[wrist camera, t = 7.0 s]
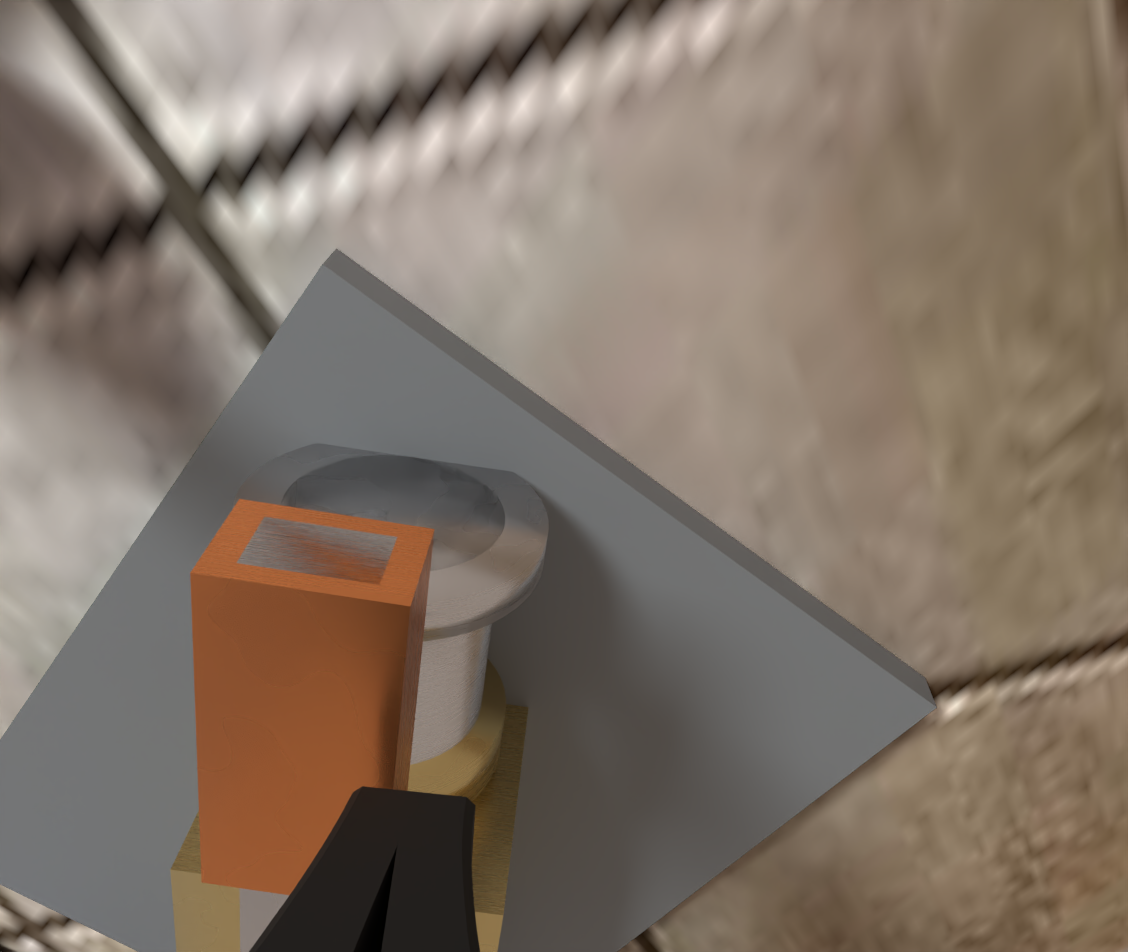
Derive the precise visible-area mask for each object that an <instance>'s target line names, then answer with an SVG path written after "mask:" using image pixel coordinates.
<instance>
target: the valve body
mask: <svg viewBox="0 0 1128 952" xmlns="http://www.w3.org/2000/svg"><path fill="white" fill-rule="evenodd" d="M239 499H244V500H251V501H257V502H263V503H270V504H276V505H283V506H289V507H296V508H302V509H309V510H315V511H322V512H328V513H334V514H341V515H347V516H354V517H360V518H367V519H373V520H380V521H386V522H393V523H399V524H405V525H412V526H418V527H425V528H431V529H435V530H434V539H433V549H432V559H431V568H430V578H429V588H428V597H427V607H426V617H425V626H424V636H423V646H422V655H421V665H420V675H419V684H418V694H417V704H416V713H415V723H414V733H413V742H412V752H411V762H410V771H409V781H408V791H414V792H423V793H433V794H443V795H453V796H462V797H467V798H468V799H469V800H470V801H471V802H473V803H474V804H475V805H476V807H475V823H474V838H473V854H472V880H473V895H474V908H475V917H476V926H477V934H478V941H479V947H480V952H497V951H498V945H499V939H500V933H501V927H502V921H503V914H504V906H505V898H506V889H507V881H508V873H509V865H510V856H511V848H512V840H513V832H514V823H515V815H516V807H517V799H518V790H519V782H520V774H521V766H522V757H523V749H524V741H525V733H526V724H527V716H528V708H529V707H523V706H516V705H509V704H506V696H505V689H504V686H503V683H502V680H501V678H500V676H499V674H498V672H497V670H496V669H495V667H494V666H493V664H492V663H491V662H490V660H489V659H488V650H489V643H490V635H491V627H492V623H494V622H496V621H498V620H500V619H502V618H504V617H505V616H507V615H508V614H510V613H511V612H513V611H514V610H516V609H517V608H518V607H519V606H520V605H521V604H522V603H524V602H525V601H526V600H527V599H528V597H529V596H530V595H531V593H532V592H533V591H534V590H535V588H536V586H537V584H538V582H539V580H540V577H541V573H542V569H543V563H544V557H545V551H546V544H547V538H548V531H549V520H548V516H547V512H546V509H545V507H544V505H543V503H542V501H541V499H540V498H539V496H538V495H537V494H536V492H535V491H534V490H533V489H532V488H531V487H530V486H529V485H528V484H527V483H526V482H525V481H524V480H523V479H522V478H520V477H519V476H518V475H517V474H515V473H514V472H511V471H504V470H497V469H490V468H483V467H477V466H470V465H463V464H456V463H449V462H443V461H436V460H429V459H422V458H415V457H409V456H402V455H395V454H388V453H381V452H375V451H368V450H361V449H354V448H347V447H341V446H334V445H327V444H320V443H315V444H311V445H308V446H304V447H301V448H298V449H295V450H293V451H290V452H287V453H285V454H283V455H281V456H279V457H277V458H275V459H273V460H271V461H269V462H268V463H266V464H264V465H263V466H261V467H260V468H258V469H257V470H256V471H255V472H254V473H253V474H251V475H250V476H249V477H248V478H247V480H246V481H245V482H244V483H243V484H242V486H241V487H240V489H239V491H238V493H237V495H236V497H235V500H234V504H233V508H234V506H235V505H236V503H237V502H238V500H239ZM170 873H171V886H172V899H173V913H174V926H175V940H176V952H240V889H239V888H236V887H229V886H222V885H215V884H208V883H202V882H201V855H200V827H199V811H198V813H197V815H196V817H195V819H194V821H193V823H192V826H191V828H190V830H189V832H188V834H187V836H186V838H185V840H184V842H183V844H182V846H181V848H180V851H179V853H178V855H177V857H176V859H175V861H174V863H173V865H172V867H171V869H170Z"/></svg>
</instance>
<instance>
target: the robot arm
mask: <svg viewBox="0 0 1128 952" xmlns="http://www.w3.org/2000/svg"><path fill="white" fill-rule="evenodd" d="M475 807H476V805H475V804H474V803H473V802H471V801H470V800H469V799H468V798H467V797H462V796H453V795H443V794H433V793H423V792H414V791H404V790H394V789H384V788H375V787H365V786H362V787H360V788H359V789H357V790H356V791H354V792H353V793H352V795H351V797H350V798H349V800H348V802H347V804H346V806H345V808H344V810H343V812H342V813H341V815H340V817H339V819H338V820H337V822H336V824H335V825H334V827H333V829H332V831H331V832H330V834H329V836H328V837H327V839H326V841H325V842H324V844H323V845H322V847H321V849H320V850H319V852H318V853H317V855H316V856H315V858H314V859H313V861H312V863H311V864H310V866H309V867H308V869H307V870H306V872H305V873H304V875H303V876H302V878H301V879H300V881H299V882H298V884H297V885H296V887H295V888H294V890H293V891H292V892H291V894H290V895H289V897H288V898H287V899H286V901H285V902H284V904H283V905H282V906H281V908H280V909H279V911H278V912H277V913H276V915H275V916H274V918H273V919H272V920H271V922H270V923H269V925H268V926H267V927H266V929H265V930H264V932H263V933H262V934H261V936H260V937H259V939H258V940H257V941H256V943H255V944H254V945H253V947H252V948H251V949H250V951H249V952H480V947H479V941H478V934H477V926H476V917H475V908H474V895H473V880H472V854H473V838H474V823H475ZM0 952H1V951H0Z"/></svg>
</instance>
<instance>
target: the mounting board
mask: <svg viewBox="0 0 1128 952" xmlns="http://www.w3.org/2000/svg"><path fill="white" fill-rule="evenodd" d="M315 443H320V444H327V445H334V446H341V447H347V448H354V449H361V450H368V451H375V452H381V453H388V454H395V455H402V456H409V457H415V458H422V459H429V460H436V461H443V462H449V463H456V464H463V465H470V466H477V467H483V468H490V469H497V470H504V471H511V472H514V473H515V474H517V475H518V476H519V477H520V478H522V479H523V480H524V481H525V482H526V483H527V484H528V485H529V486H530V487H531V488H532V489H533V490H534V491H535V492H536V494H537V495H538V496H539V498H540V499H541V501H542V503H543V505H544V507H545V509H546V512H547V516H548V520H549V531H548V538H547V544H546V551H545V557H544V563H543V569H542V573H541V577H540V580H539V582H538V584H537V586H536V588H535V590H534V591H533V592H532V593H531V595H530V596H529V597H528V599H527V600H526V601H525V602H524V603H522V604H521V605H520V606H519V607H518V608H517V609H516V610H514V611H513V612H511V613H510V614H508V615H507V616H505V617H504V618H502V619H500V620H498V621H496V622H494V623H492V627H491V635H490V643H489V650H488V659H489V660H490V662H491V663H492V664H493V666H494V667H495V669H496V670H497V672H498V674H499V676H500V678H501V680H502V683H503V686H504V689H505V696H506V704H509V705H516V706H523V707H529V708H528V716H527V724H526V733H525V741H524V749H523V757H522V766H521V774H520V782H519V790H518V799H517V807H516V815H515V823H514V832H513V840H512V848H511V856H510V865H509V873H508V881H507V889H506V898H505V906H504V914H503V921H502V927H501V933H500V939H499V945H498V951H497V952H617V951H618V950H620V949H621V948H622V947H624V946H625V945H626V944H628V943H629V942H630V941H632V940H633V939H634V938H635V937H637V936H638V935H639V934H641V933H642V932H643V931H645V930H646V929H647V928H649V927H650V926H651V925H653V924H654V923H655V922H656V921H658V920H659V919H660V918H662V917H663V916H664V915H666V914H667V913H668V912H670V911H671V910H672V909H673V908H675V907H676V906H677V905H679V904H680V903H681V902H683V901H684V900H685V899H687V898H688V897H689V896H691V895H692V894H693V893H694V892H696V891H697V890H698V889H700V888H701V887H702V886H704V885H705V884H706V883H708V882H709V881H710V880H711V879H713V878H714V877H715V876H717V875H718V874H719V873H721V872H722V871H723V870H725V869H726V868H727V867H728V866H730V865H731V864H732V863H734V862H735V861H736V860H738V859H739V858H740V857H742V856H743V855H744V854H746V853H747V852H748V851H749V850H751V849H752V848H753V847H755V846H756V845H757V844H759V843H760V842H761V841H763V840H764V839H765V838H766V837H768V836H769V835H770V834H772V833H773V832H774V831H776V830H777V829H778V828H780V827H781V826H782V825H784V824H785V823H786V822H787V821H789V820H790V819H791V818H793V817H794V816H795V815H797V814H798V813H799V812H801V811H802V810H803V809H804V808H806V807H807V806H808V805H810V804H811V803H812V802H814V801H815V800H816V799H818V798H819V797H820V796H821V795H823V794H824V793H825V792H827V791H828V790H829V789H831V788H832V787H833V786H835V785H836V784H837V783H839V782H840V781H841V780H842V779H844V778H845V777H846V776H848V775H849V774H850V773H852V772H853V771H854V770H856V769H857V768H858V767H859V766H861V765H862V764H863V763H865V762H866V761H867V760H869V759H870V758H871V757H873V756H874V755H875V754H877V753H878V752H879V751H880V750H882V749H883V748H884V747H886V746H887V745H888V744H890V743H891V742H892V741H894V740H895V739H896V738H897V737H899V736H900V735H901V734H903V733H904V732H905V731H907V730H908V729H909V728H911V727H912V726H913V725H914V724H916V723H917V722H918V721H920V720H921V719H922V718H924V717H925V716H926V715H928V714H929V713H930V712H932V711H933V710H934V709H935V708H937V707H936V704H935V702H934V699H933V697H932V694H931V692H930V689H929V687H928V684H927V682H926V679H925V677H923V676H922V675H920V674H919V673H918V672H916V671H915V670H914V669H912V668H911V667H909V666H908V665H907V664H905V663H904V662H903V661H901V660H900V659H898V658H897V657H896V656H894V655H893V654H892V653H890V652H889V651H888V650H886V649H885V648H883V647H882V646H881V645H879V644H878V643H877V642H875V641H874V640H872V639H871V638H870V637H868V636H867V635H866V634H864V633H863V632H861V631H860V630H859V629H857V628H856V627H855V626H853V625H852V624H850V623H849V622H848V621H846V620H845V619H844V618H842V617H841V616H840V615H838V614H837V613H835V612H834V611H833V610H831V609H830V608H829V607H827V606H826V605H824V604H823V603H822V602H820V601H819V600H818V599H816V598H815V597H813V596H812V595H811V594H809V593H808V592H807V591H805V590H804V589H802V588H801V587H800V586H798V585H797V584H796V583H794V582H793V581H792V580H790V579H789V578H787V577H786V576H785V575H783V574H782V573H781V572H779V571H778V570H776V569H775V568H774V567H772V566H771V565H770V564H768V563H767V562H765V561H764V560H763V559H761V558H760V557H759V556H757V555H756V554H754V553H753V552H752V551H750V550H749V549H748V548H746V547H745V546H744V545H742V544H741V543H739V542H738V541H737V540H735V539H734V538H733V537H731V536H730V535H728V534H727V533H726V532H724V531H723V530H722V529H720V528H719V527H717V526H716V525H715V524H713V523H712V522H711V521H709V520H708V519H706V518H705V517H704V516H702V515H701V514H700V513H698V512H697V511H696V510H694V509H693V508H691V507H690V506H689V505H687V504H686V503H685V502H683V501H682V500H680V499H679V498H678V497H676V496H675V495H674V494H672V493H671V492H669V491H668V490H667V489H665V488H664V487H663V486H661V485H660V484H658V483H657V482H656V481H654V480H653V479H652V478H650V477H649V476H648V475H646V474H645V473H643V472H642V471H641V470H639V469H638V468H637V467H635V466H634V465H632V464H631V463H630V462H628V461H627V460H626V459H624V458H623V457H621V456H620V455H619V454H617V453H616V452H615V451H613V450H612V449H610V448H609V447H608V446H606V445H605V444H604V443H602V442H601V441H600V440H598V439H597V438H595V437H594V436H593V435H591V434H590V433H589V432H587V431H586V430H584V429H583V428H582V427H580V426H579V425H578V424H576V423H575V422H573V421H572V420H571V419H569V418H568V417H567V416H565V415H564V414H562V413H561V412H560V411H558V410H557V409H556V408H554V407H553V406H552V405H550V404H549V403H547V402H546V401H545V400H543V399H542V398H541V397H539V396H538V395H536V394H535V393H534V392H532V391H531V390H530V389H528V388H527V387H525V386H524V385H523V384H521V383H520V382H519V381H517V380H516V379H514V378H513V377H512V376H510V375H509V374H508V373H506V372H505V371H504V370H502V369H501V368H499V367H498V366H497V365H495V364H494V363H493V362H491V361H490V360H488V359H487V358H486V357H484V356H483V355H482V354H480V353H479V352H477V351H476V350H475V349H473V348H472V347H471V346H469V345H468V344H466V343H465V342H464V341H462V340H461V339H460V338H458V337H457V336H456V335H454V334H453V333H451V332H450V331H449V330H447V329H446V328H445V327H443V326H442V325H440V324H439V323H438V322H436V321H435V320H434V319H432V318H431V317H429V316H428V315H427V314H425V313H424V312H423V311H421V310H420V309H418V308H417V307H416V306H414V305H413V304H412V303H410V302H409V301H408V300H406V299H405V298H403V297H402V296H401V295H399V294H398V293H397V292H395V291H394V290H392V289H391V288H390V287H388V286H387V285H386V284H384V283H383V282H381V281H380V280H379V279H377V278H376V277H375V276H373V275H372V274H370V273H369V272H368V271H366V270H365V269H364V268H362V267H361V266H360V265H358V264H357V263H355V262H354V261H353V260H351V259H350V258H349V257H347V256H346V255H344V254H343V253H342V252H340V251H339V250H338V249H336V250H335V251H334V252H333V253H332V254H331V255H330V257H329V258H328V259H327V260H326V261H325V262H324V263H323V265H322V266H321V268H320V269H319V270H318V272H317V273H316V275H315V276H314V278H313V279H312V281H311V282H310V284H309V285H308V287H307V288H306V290H305V291H304V293H303V294H302V296H301V297H300V298H299V300H298V301H297V303H296V304H295V306H294V307H293V309H292V310H291V312H290V313H289V315H288V316H287V318H286V319H285V321H284V322H283V324H282V325H281V326H280V328H279V329H278V331H277V332H276V334H275V335H274V337H273V338H272V340H271V341H270V343H269V344H268V346H267V347H266V349H265V350H264V352H263V353H262V355H261V356H260V357H259V359H258V360H257V362H256V363H255V365H254V366H253V368H252V369H251V371H250V372H249V374H248V375H247V377H246V378H245V380H244V381H243V383H242V384H241V385H240V387H239V388H238V390H237V391H236V393H235V394H234V396H233V397H232V399H231V400H230V402H229V403H228V405H227V406H226V408H225V409H224V411H223V412H222V414H221V415H220V416H219V418H218V419H217V421H216V422H215V424H214V425H213V427H212V428H211V430H210V431H209V433H208V434H207V436H206V437H205V439H204V440H203V442H202V443H201V444H200V446H199V447H198V449H197V450H196V452H195V453H194V455H193V456H192V458H191V459H190V461H189V462H188V464H187V465H186V467H185V468H184V470H183V471H182V472H181V474H180V475H179V477H178V478H177V480H176V481H175V483H174V484H173V486H172V487H171V489H170V490H169V492H168V493H167V495H166V496H165V498H164V499H163V501H162V502H161V503H160V505H159V506H158V508H157V509H156V511H155V512H154V514H153V515H152V517H151V518H150V520H149V521H148V523H147V524H146V526H145V527H144V529H143V530H142V531H141V533H140V534H139V536H138V537H137V539H136V540H135V542H134V543H133V545H132V546H131V548H130V549H129V551H128V552H127V554H126V555H125V557H124V558H123V559H122V561H121V562H120V564H119V565H118V567H117V568H116V570H115V571H114V573H113V574H112V576H111V577H110V579H109V580H108V582H107V583H106V585H105V586H104V588H103V589H102V590H101V592H100V593H99V595H98V596H97V598H96V599H95V601H94V602H93V604H92V605H91V607H90V608H89V610H88V611H87V613H86V614H85V616H84V617H83V618H82V620H81V621H80V623H79V624H78V626H77V627H76V629H75V630H74V632H73V633H72V635H71V636H70V638H69V639H68V641H67V642H66V644H65V645H64V647H63V648H62V649H61V651H60V652H59V654H58V655H57V657H56V658H55V660H54V661H53V663H52V664H51V666H50V667H49V669H48V670H47V672H46V673H45V675H44V676H43V677H42V679H41V680H40V682H39V683H38V685H37V686H36V688H35V689H34V691H33V692H32V694H31V695H30V697H29V698H28V700H27V701H26V703H25V704H24V705H23V707H22V708H21V710H20V711H19V713H18V714H17V716H16V717H15V719H14V720H13V722H12V723H11V725H10V726H9V728H8V729H7V731H6V732H5V734H4V735H3V736H2V738H1V739H0V885H3V886H5V887H7V888H9V889H11V890H13V891H15V892H17V893H19V894H21V895H23V896H25V897H27V898H29V899H31V900H33V901H35V902H37V903H40V904H42V905H44V906H46V907H48V908H50V909H52V910H54V911H56V912H58V913H60V914H62V915H64V916H66V917H68V918H70V919H72V920H75V921H77V922H79V923H81V924H83V925H85V926H87V927H89V928H91V929H93V930H95V931H97V932H99V933H101V934H103V935H105V936H107V937H109V938H112V939H114V940H116V941H118V942H120V943H122V944H124V945H126V946H128V947H130V948H132V949H134V950H136V951H138V952H176V940H175V926H174V913H173V899H172V886H171V873H170V869H171V867H172V865H173V863H174V861H175V859H176V857H177V855H178V853H179V851H180V848H181V846H182V844H183V842H184V840H185V838H186V836H187V834H188V832H189V830H190V828H191V826H192V823H193V821H194V819H195V817H196V815H197V813H198V811H199V800H198V773H197V746H196V718H195V691H194V664H193V636H192V609H191V582H190V572H191V571H192V569H193V568H194V566H195V565H196V563H197V562H198V560H199V559H200V557H201V556H202V554H203V553H204V551H205V550H206V548H207V547H208V545H209V544H210V542H211V541H212V539H213V538H214V536H215V535H216V533H217V532H218V530H219V529H220V527H221V526H222V524H223V523H224V521H225V520H226V518H227V517H228V515H229V514H230V512H231V511H232V509H233V504H234V500H235V497H236V495H237V493H238V491H239V489H240V487H241V486H242V484H243V483H244V482H245V481H246V480H247V478H248V477H249V476H250V475H251V474H253V473H254V472H255V471H256V470H257V469H258V468H260V467H261V466H263V465H264V464H266V463H268V462H269V461H271V460H273V459H275V458H277V457H279V456H281V455H283V454H285V453H287V452H290V451H293V450H295V449H298V448H301V447H304V446H308V445H311V444H315Z"/></svg>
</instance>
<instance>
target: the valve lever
mask: <svg viewBox="0 0 1128 952" xmlns="http://www.w3.org/2000/svg"><path fill="white" fill-rule="evenodd" d="M434 530H435V529H431V528H425V527H418V526H412V525H405V524H399V523H393V522H386V521H380V520H373V519H367V518H360V517H354V516H347V515H341V514H334V513H328V512H322V511H315V510H309V509H302V508H296V507H289V506H283V505H276V504H270V503H263V502H257V501H251V500H244V499H239V500H238V502H237V503H236V505H235V506H234V508H233V509H232V511H231V512H230V514H229V515H228V517H227V518H226V520H225V521H224V523H223V524H222V526H221V527H220V529H219V530H218V532H217V533H216V535H215V536H214V538H213V539H212V541H211V542H210V544H209V545H208V547H207V548H206V550H205V551H204V553H203V554H202V556H201V557H200V559H199V560H198V562H197V563H196V565H195V566H194V568H193V569H192V571H191V572H190V582H191V609H192V636H193V664H194V691H195V718H196V746H197V773H198V800H199V827H200V855H201V882H202V883H208V884H215V885H222V886H229V887H236V888H239V889H240V952H249V951H250V949H251V948H252V947H253V945H254V944H255V943H256V941H257V940H258V939H259V937H260V936H261V934H262V933H263V932H264V930H265V929H266V927H267V926H268V925H269V923H270V922H271V920H272V919H273V918H274V916H275V915H276V913H277V912H278V911H279V909H280V908H281V906H282V905H283V904H284V902H285V901H286V899H287V898H288V897H289V895H290V894H291V892H292V891H293V890H294V888H295V887H296V885H297V884H298V882H299V881H300V879H301V878H302V876H303V875H304V873H305V872H306V870H307V869H308V867H309V866H310V864H311V863H312V861H313V859H314V858H315V856H316V855H317V853H318V852H319V850H320V849H321V847H322V845H323V844H324V842H325V841H326V839H327V837H328V836H329V834H330V832H331V831H332V829H333V827H334V825H335V824H336V822H337V820H338V819H339V817H340V815H341V813H342V812H343V810H344V808H345V806H346V804H347V802H348V800H349V798H350V797H351V795H352V793H353V792H354V791H356V790H357V789H359V788H360V787H362V786H365V787H375V788H384V789H394V790H404V791H408V781H409V771H410V762H411V752H412V742H413V733H414V723H415V713H416V704H417V694H418V684H419V675H420V665H421V655H422V646H423V636H424V626H425V617H426V607H427V597H428V588H429V578H430V568H431V559H432V549H433V539H434Z"/></svg>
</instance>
